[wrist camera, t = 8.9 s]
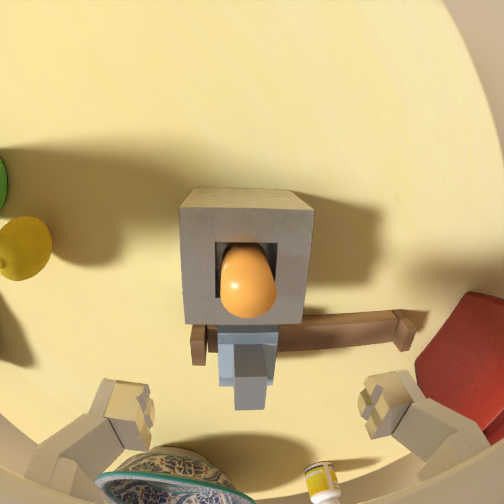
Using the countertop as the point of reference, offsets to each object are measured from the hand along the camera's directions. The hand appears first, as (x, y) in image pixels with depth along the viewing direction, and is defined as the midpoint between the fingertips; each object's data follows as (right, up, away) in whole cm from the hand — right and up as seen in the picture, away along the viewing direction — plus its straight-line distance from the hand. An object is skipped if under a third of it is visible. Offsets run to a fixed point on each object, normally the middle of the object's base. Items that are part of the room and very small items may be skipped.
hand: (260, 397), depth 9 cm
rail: (+5, -3, +21) cm, 22 cm away
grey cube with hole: (-1, +6, +17) cm, 18 cm away
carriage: (-1, -3, +21) cm, 21 cm away
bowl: (-13, -30, +30) cm, 45 cm away
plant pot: (+30, -8, +25) cm, 40 cm away
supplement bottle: (+12, -35, +34) cm, 50 cm away
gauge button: (-1, +4, +12) cm, 12 cm away
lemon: (-21, +7, +16) cm, 27 cm away
